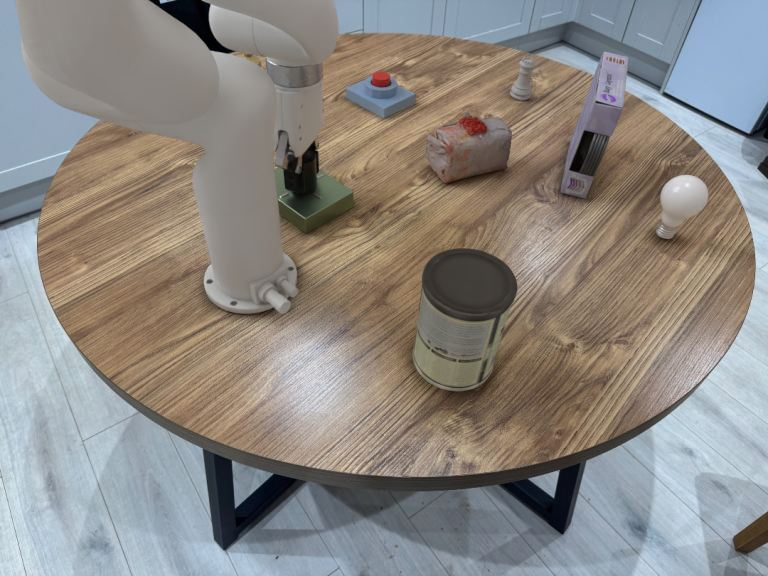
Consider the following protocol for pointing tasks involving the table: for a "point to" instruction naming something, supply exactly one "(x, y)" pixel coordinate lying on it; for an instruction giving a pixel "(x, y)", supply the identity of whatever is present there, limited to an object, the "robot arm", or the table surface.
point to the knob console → (313, 202)
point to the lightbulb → (680, 203)
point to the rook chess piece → (523, 80)
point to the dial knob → (308, 170)
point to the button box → (380, 97)
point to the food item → (469, 148)
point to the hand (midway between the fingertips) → (302, 179)
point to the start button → (381, 79)
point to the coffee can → (462, 317)
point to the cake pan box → (595, 124)
